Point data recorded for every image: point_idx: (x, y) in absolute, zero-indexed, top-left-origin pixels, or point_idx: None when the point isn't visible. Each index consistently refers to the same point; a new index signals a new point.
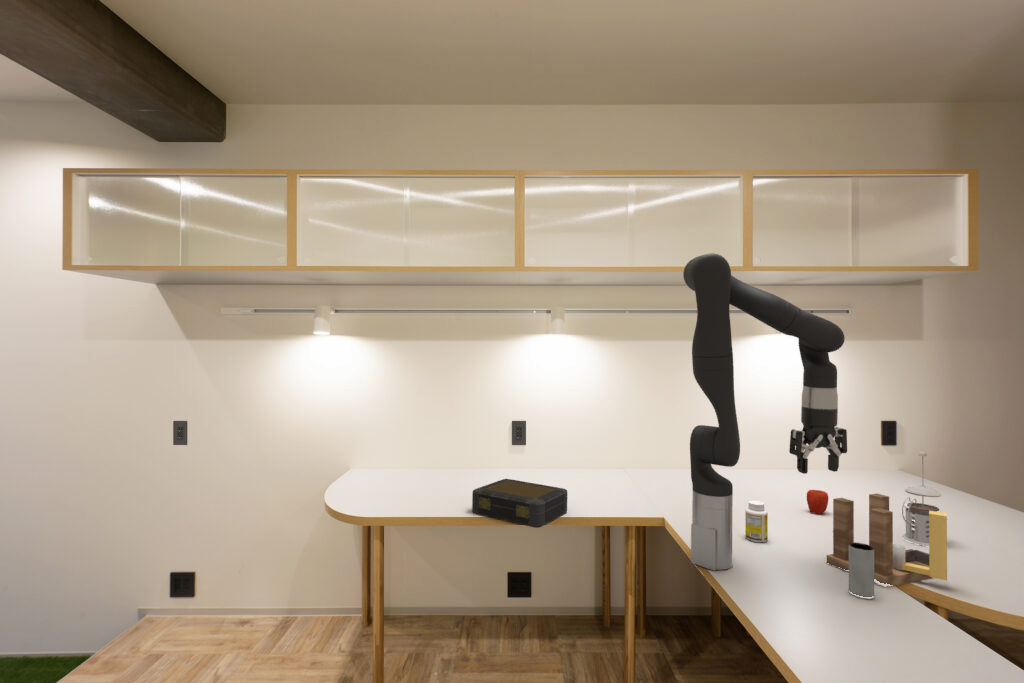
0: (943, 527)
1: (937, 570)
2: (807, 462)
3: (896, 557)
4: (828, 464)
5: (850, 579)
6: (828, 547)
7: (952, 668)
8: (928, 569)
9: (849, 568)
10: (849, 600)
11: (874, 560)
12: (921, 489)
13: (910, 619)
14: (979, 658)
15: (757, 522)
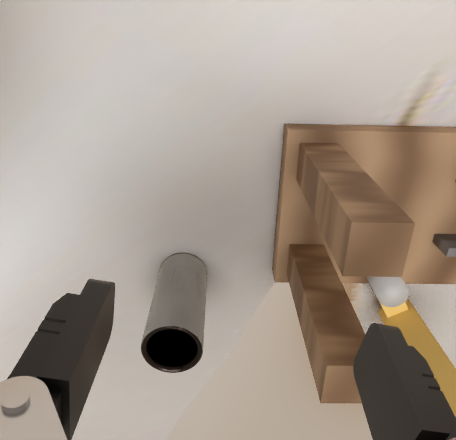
0: None
1: None
2: (80, 408)
3: (369, 279)
4: (385, 353)
5: (156, 283)
6: (437, 23)
7: (88, 434)
8: (390, 315)
9: (155, 295)
10: (131, 280)
11: (293, 269)
12: None
13: None
14: (152, 433)
15: None
